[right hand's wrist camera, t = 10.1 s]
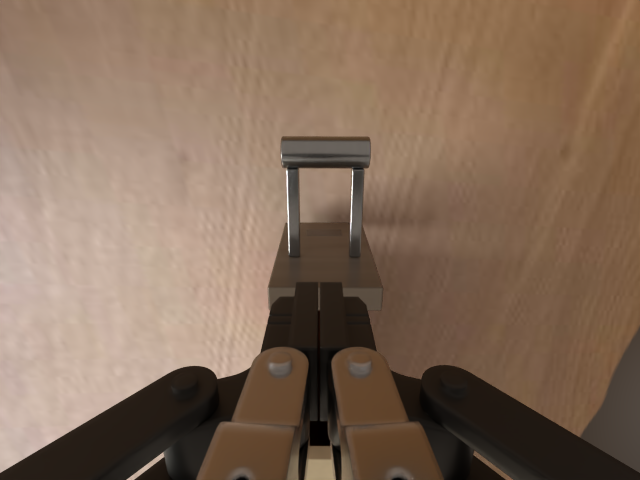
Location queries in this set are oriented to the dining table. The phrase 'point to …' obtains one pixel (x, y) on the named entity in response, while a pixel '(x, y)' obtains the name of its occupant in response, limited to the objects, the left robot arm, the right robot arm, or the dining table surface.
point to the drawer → (325, 236)
